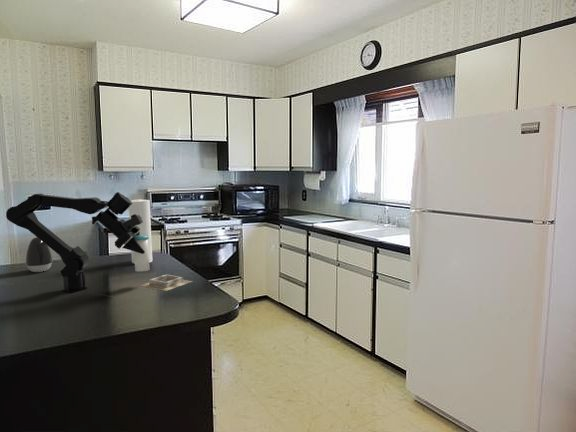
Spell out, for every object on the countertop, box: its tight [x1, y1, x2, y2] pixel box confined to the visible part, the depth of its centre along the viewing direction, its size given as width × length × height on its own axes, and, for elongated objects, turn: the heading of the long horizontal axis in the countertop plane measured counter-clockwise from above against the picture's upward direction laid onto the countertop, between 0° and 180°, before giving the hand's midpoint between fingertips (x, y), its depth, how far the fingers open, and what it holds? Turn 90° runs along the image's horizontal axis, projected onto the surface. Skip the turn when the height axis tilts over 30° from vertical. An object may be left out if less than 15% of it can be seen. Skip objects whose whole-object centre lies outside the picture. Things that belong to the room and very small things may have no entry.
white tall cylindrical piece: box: [134, 235, 150, 272], centre depth 156 cm, size 6×6×13 cm
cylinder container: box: [128, 198, 153, 265], centre depth 197 cm, size 9×9×30 cm
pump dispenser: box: [25, 236, 53, 273], centre depth 181 cm, size 10×10×15 cm
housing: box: [139, 274, 194, 292], centre depth 159 cm, size 14×14×2 cm
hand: (145, 251), depth 157 cm, fingers closed on white tall cylindrical piece, 5 cm apart
